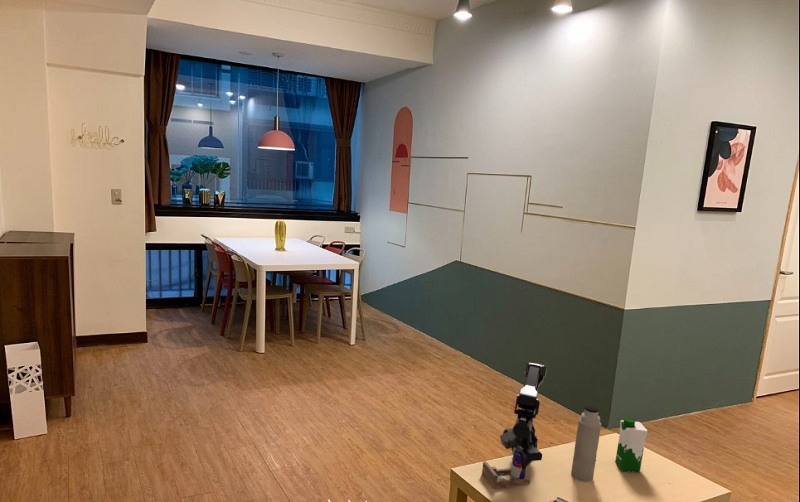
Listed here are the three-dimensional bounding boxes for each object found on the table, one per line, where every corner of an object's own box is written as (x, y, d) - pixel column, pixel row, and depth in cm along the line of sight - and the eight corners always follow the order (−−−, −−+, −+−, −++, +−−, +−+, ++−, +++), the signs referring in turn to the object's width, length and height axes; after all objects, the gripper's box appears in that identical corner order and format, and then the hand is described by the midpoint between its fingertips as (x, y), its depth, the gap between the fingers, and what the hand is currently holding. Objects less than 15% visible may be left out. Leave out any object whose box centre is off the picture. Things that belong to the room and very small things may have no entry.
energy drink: (514, 482, 195) (518, 452, 193) (507, 474, 200) (511, 444, 198) (527, 481, 197) (531, 451, 195) (520, 473, 202) (524, 443, 200)
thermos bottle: (591, 472, 206) (601, 404, 202) (594, 484, 198) (605, 413, 194) (569, 468, 208) (579, 401, 203) (572, 480, 200) (582, 410, 196)
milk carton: (612, 460, 217) (619, 414, 214) (634, 462, 217) (641, 416, 213) (620, 472, 208) (628, 424, 205) (643, 474, 208) (651, 426, 205)
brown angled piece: (517, 470, 204) (518, 458, 203) (530, 484, 195) (531, 471, 194) (481, 473, 199) (483, 461, 198) (493, 488, 190) (494, 475, 189)
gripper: (492, 415, 202) (488, 453, 204) (517, 440, 184) (512, 482, 186) (518, 413, 205) (514, 451, 207) (545, 438, 187) (540, 479, 190)
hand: (519, 465), depth 198 cm, fingers closed on energy drink, 5 cm apart
